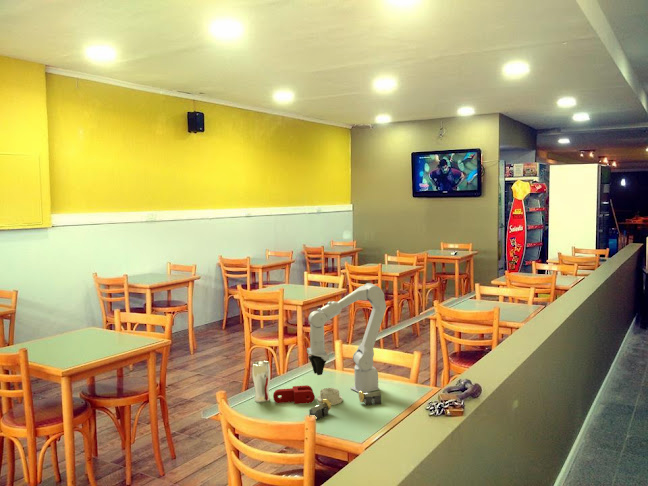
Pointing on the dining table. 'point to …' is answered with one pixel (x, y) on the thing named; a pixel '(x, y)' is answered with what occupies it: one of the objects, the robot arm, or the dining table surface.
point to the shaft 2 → (370, 398)
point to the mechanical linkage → (295, 395)
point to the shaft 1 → (321, 409)
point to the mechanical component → (330, 396)
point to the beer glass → (261, 380)
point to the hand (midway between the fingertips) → (318, 373)
